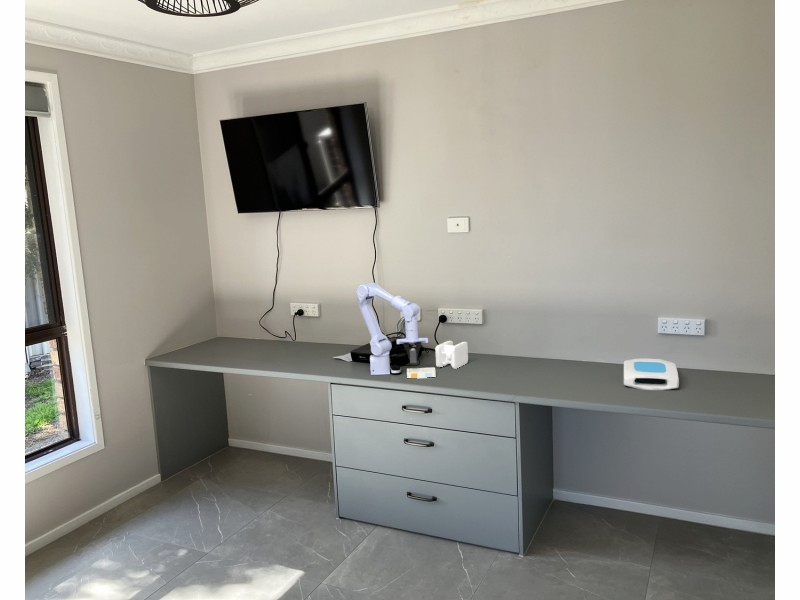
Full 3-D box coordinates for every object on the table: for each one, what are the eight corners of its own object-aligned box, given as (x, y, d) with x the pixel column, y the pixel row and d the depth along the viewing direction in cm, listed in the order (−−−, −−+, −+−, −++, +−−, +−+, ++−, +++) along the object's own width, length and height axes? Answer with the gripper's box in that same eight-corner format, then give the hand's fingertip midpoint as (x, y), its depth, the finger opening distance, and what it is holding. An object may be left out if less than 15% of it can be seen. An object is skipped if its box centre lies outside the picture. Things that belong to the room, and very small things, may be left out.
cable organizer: (454, 371, 300) (453, 347, 298) (435, 369, 306) (434, 345, 304) (468, 363, 313) (468, 340, 311) (450, 361, 318) (449, 339, 317)
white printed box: (407, 379, 292) (406, 372, 291) (407, 374, 299) (407, 368, 298) (435, 377, 291) (435, 371, 291) (435, 373, 298) (434, 367, 298)
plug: (410, 363, 293) (409, 349, 292) (410, 361, 296) (409, 348, 295) (416, 363, 293) (415, 349, 292) (416, 361, 296) (415, 347, 295)
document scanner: (673, 372, 281) (674, 359, 280) (678, 391, 255) (679, 376, 254) (623, 370, 288) (623, 357, 287) (623, 388, 262) (623, 374, 261)
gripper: (395, 332, 288) (397, 361, 290) (427, 330, 287) (428, 359, 290) (396, 329, 295) (397, 357, 297) (427, 327, 294) (428, 355, 296)
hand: (413, 358), depth 294 cm, fingers closed on plug, 3 cm apart
